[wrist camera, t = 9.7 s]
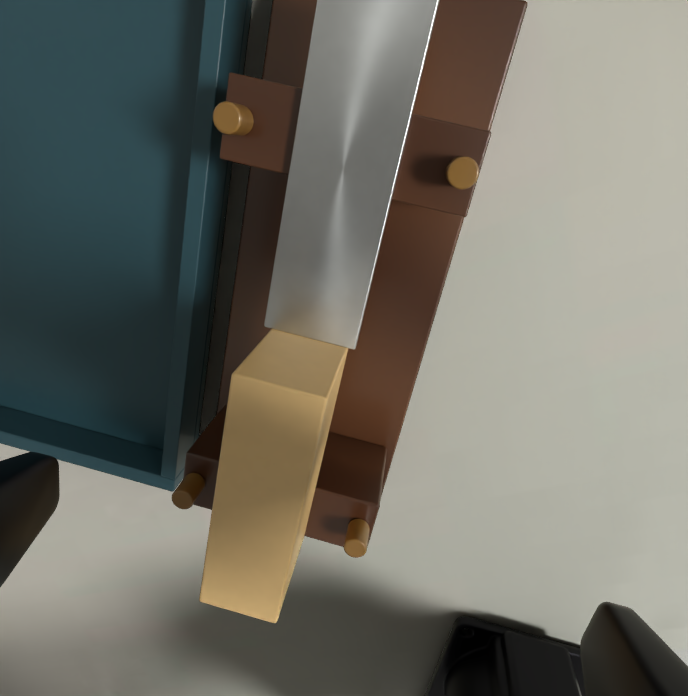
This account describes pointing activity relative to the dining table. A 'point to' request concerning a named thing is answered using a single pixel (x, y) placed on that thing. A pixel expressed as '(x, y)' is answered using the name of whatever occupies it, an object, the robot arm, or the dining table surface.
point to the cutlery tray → (111, 225)
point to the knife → (313, 292)
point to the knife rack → (394, 255)
